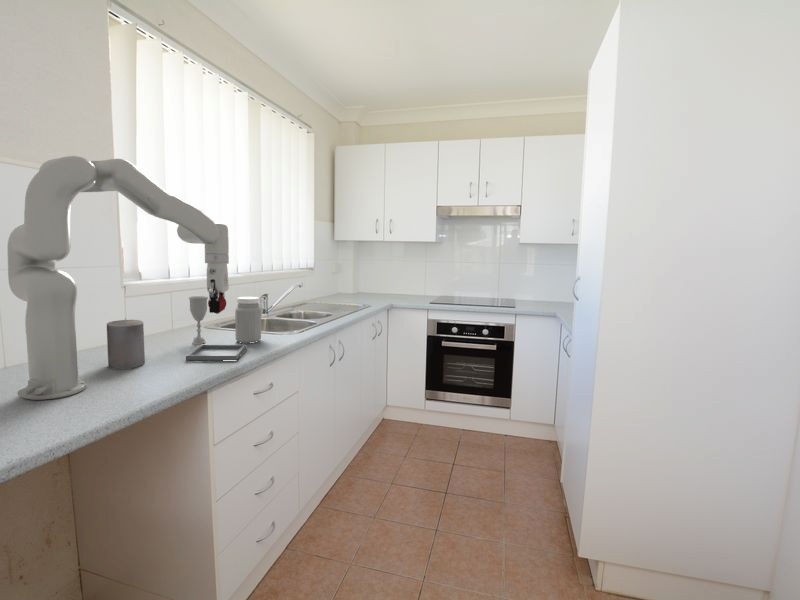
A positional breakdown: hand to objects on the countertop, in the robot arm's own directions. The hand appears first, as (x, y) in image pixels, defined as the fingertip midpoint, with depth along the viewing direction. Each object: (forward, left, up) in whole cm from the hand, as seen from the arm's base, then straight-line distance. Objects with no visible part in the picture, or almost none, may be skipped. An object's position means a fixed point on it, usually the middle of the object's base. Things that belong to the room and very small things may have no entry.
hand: (217, 310), depth 143 cm
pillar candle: (-12, +24, -16) cm, 31 cm away
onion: (0, 0, -1) cm, 1 cm away
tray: (0, 0, -16) cm, 16 cm away
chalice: (+19, +12, -16) cm, 28 cm away
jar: (+22, -6, -16) cm, 28 cm away
